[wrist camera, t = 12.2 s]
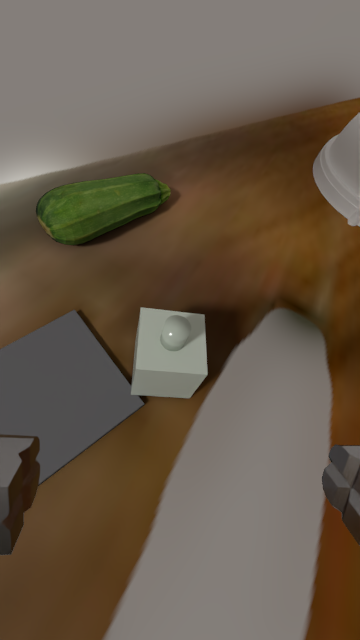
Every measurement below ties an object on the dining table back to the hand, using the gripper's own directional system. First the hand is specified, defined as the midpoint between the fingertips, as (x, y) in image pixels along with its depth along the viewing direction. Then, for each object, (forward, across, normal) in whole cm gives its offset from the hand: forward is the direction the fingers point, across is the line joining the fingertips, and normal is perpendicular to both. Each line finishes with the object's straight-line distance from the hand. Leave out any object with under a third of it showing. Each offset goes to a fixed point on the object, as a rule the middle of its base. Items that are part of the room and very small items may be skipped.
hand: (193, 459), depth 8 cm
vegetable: (+41, +7, -6) cm, 42 cm away
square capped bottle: (+24, -1, +9) cm, 25 cm away
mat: (+21, +11, +12) cm, 27 cm away
